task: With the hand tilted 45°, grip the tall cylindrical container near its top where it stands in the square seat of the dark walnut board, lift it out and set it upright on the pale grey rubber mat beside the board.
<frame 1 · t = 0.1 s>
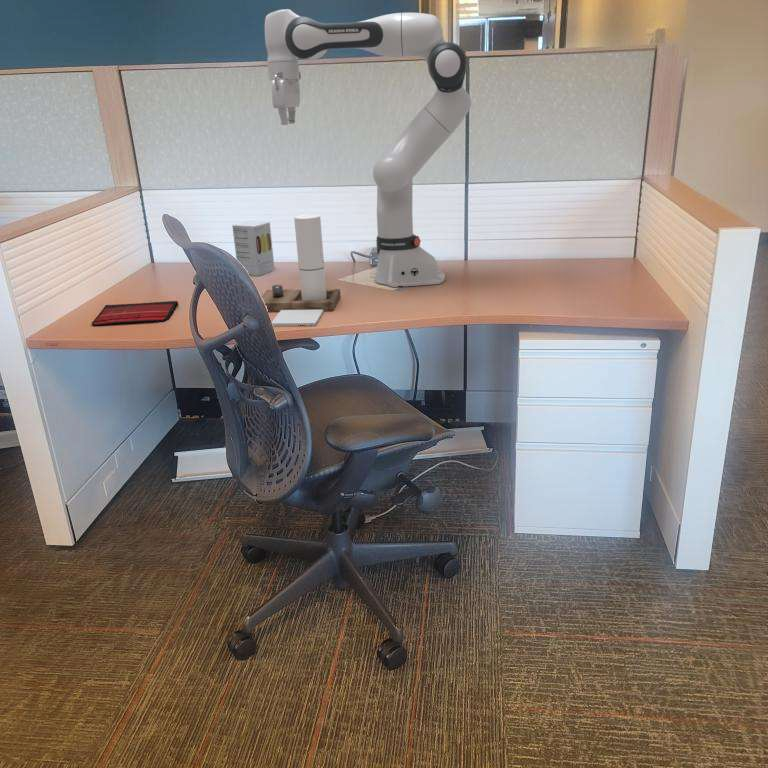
hand: (288, 124, 201), 48 cm above the table, tool pointing down, fingers open, 8 cm apart
cylindrical container: (314, 304, 195), resting in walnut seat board
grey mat: (297, 319, 183), on the table
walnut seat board: (299, 304, 196), on the table
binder: (136, 318, 192), on the table
supplement box: (256, 272, 235), on the table
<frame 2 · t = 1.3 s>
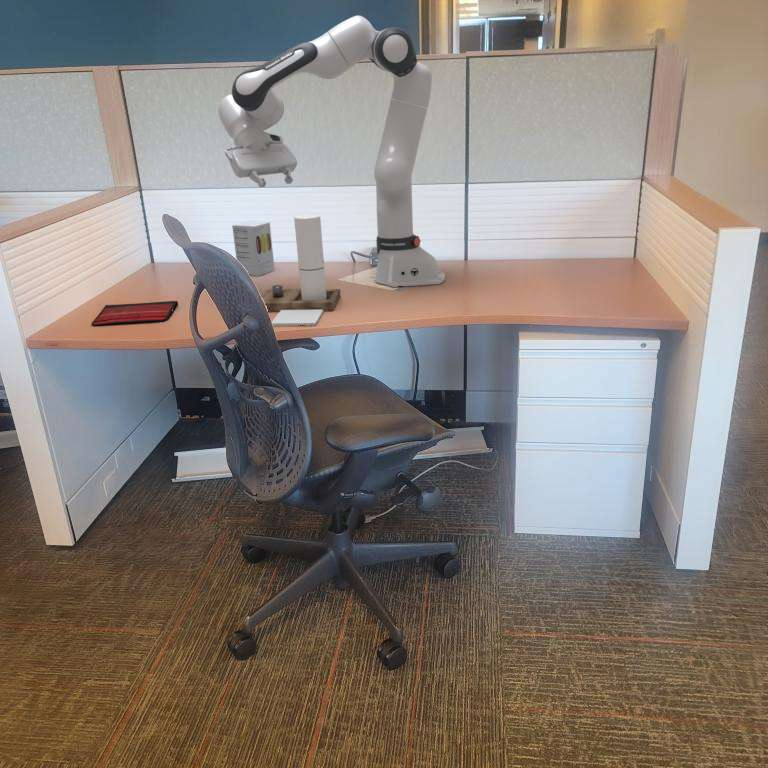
hand: (277, 184, 191), 33 cm above the table, tool tilted 45°, fingers open, 8 cm apart
nothing on the table moved.
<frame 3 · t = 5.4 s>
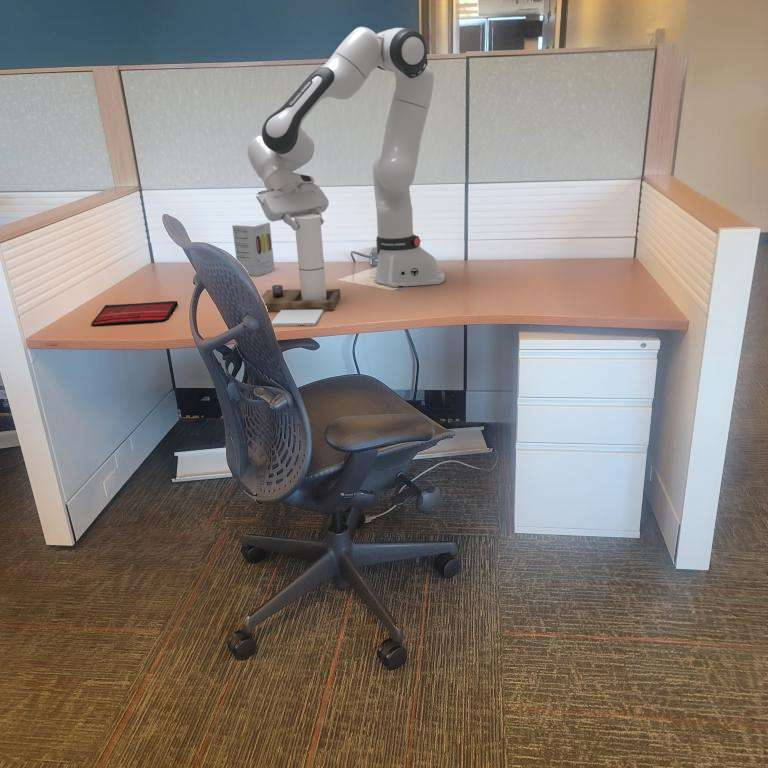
hand: (309, 226, 186), 22 cm above the table, tool tilted 45°, fingers closed on cylindrical container, 7 cm apart
cylindrical container: (314, 304, 195), resting in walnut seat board, touching gripper
everything else where it was.
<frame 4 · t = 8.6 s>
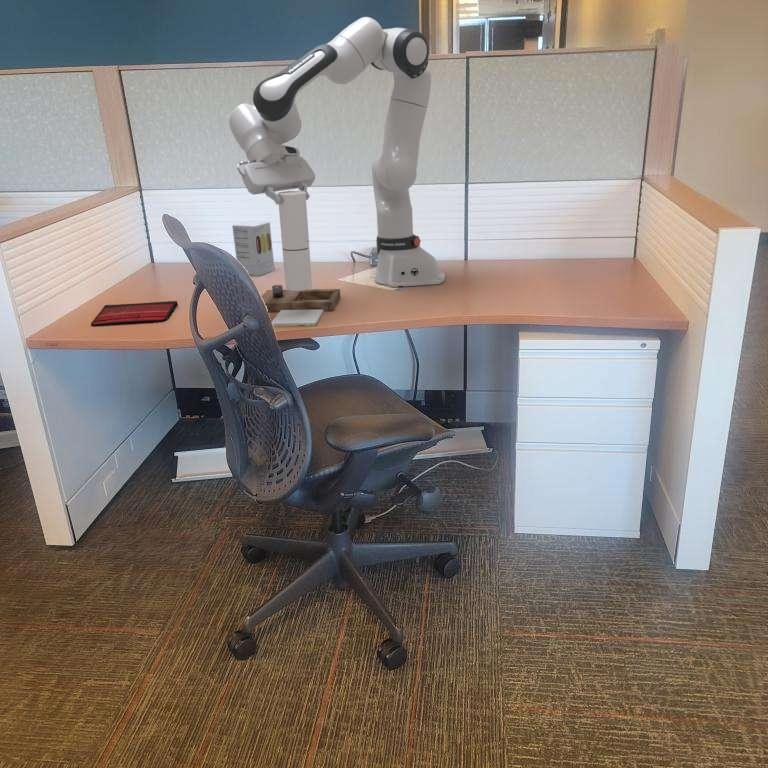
hand: (293, 200, 174), 31 cm above the table, tool tilted 45°, fingers closed on cylindrical container, 7 cm apart
cylindrical container: (298, 287, 184), point 7 cm above the table, touching gripper
everything else where it was.
when the fingers open (24 cm above the table, at t = 11.8 s): cylindrical container stays where it is, resting on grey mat.
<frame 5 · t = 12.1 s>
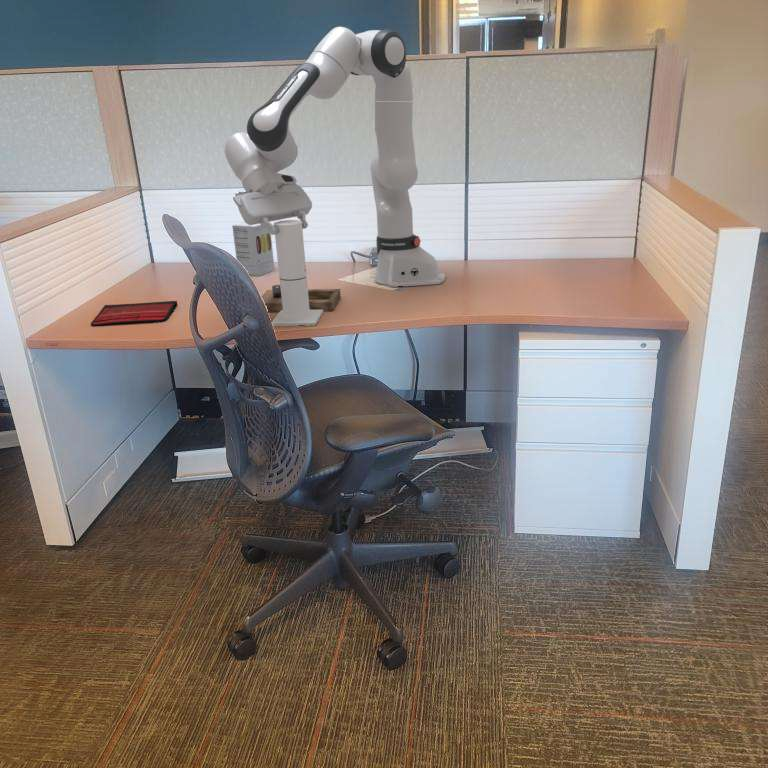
hand: (290, 230, 173), 24 cm above the table, tool tilted 45°, fingers open, 8 cm apart
cylindrical container: (296, 316, 183), point 1 cm above the table, touching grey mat
everything else where it was.
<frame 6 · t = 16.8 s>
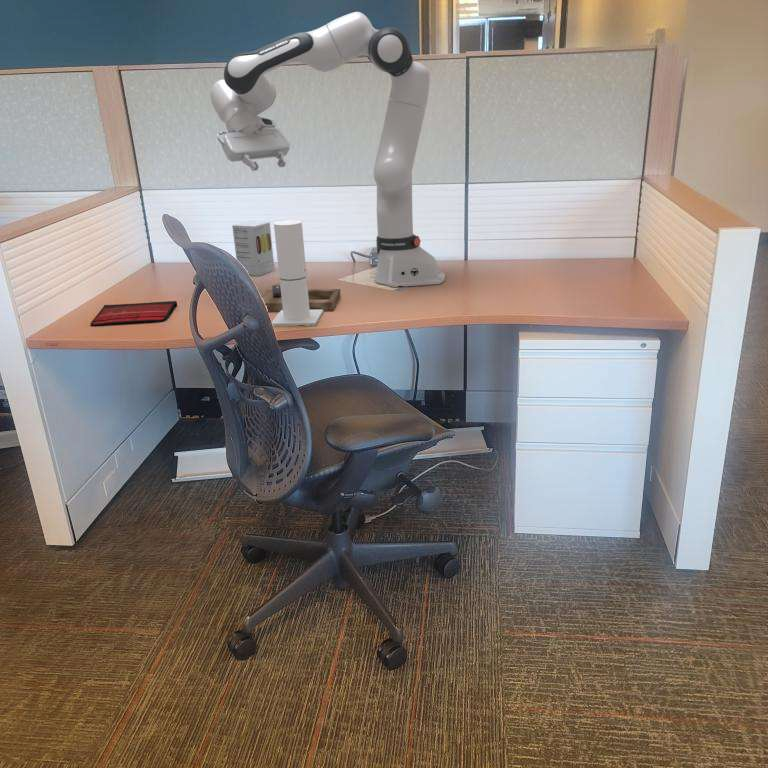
hand: (269, 167, 190), 37 cm above the table, tool tilted 45°, fingers open, 8 cm apart
nothing on the table moved.
at the end: cylindrical container inside the target area on the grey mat (0.4 cm from its centre), point 0.6 cm above the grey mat's base; cylindrical container tilted 0°; the gripper is holding nothing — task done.
